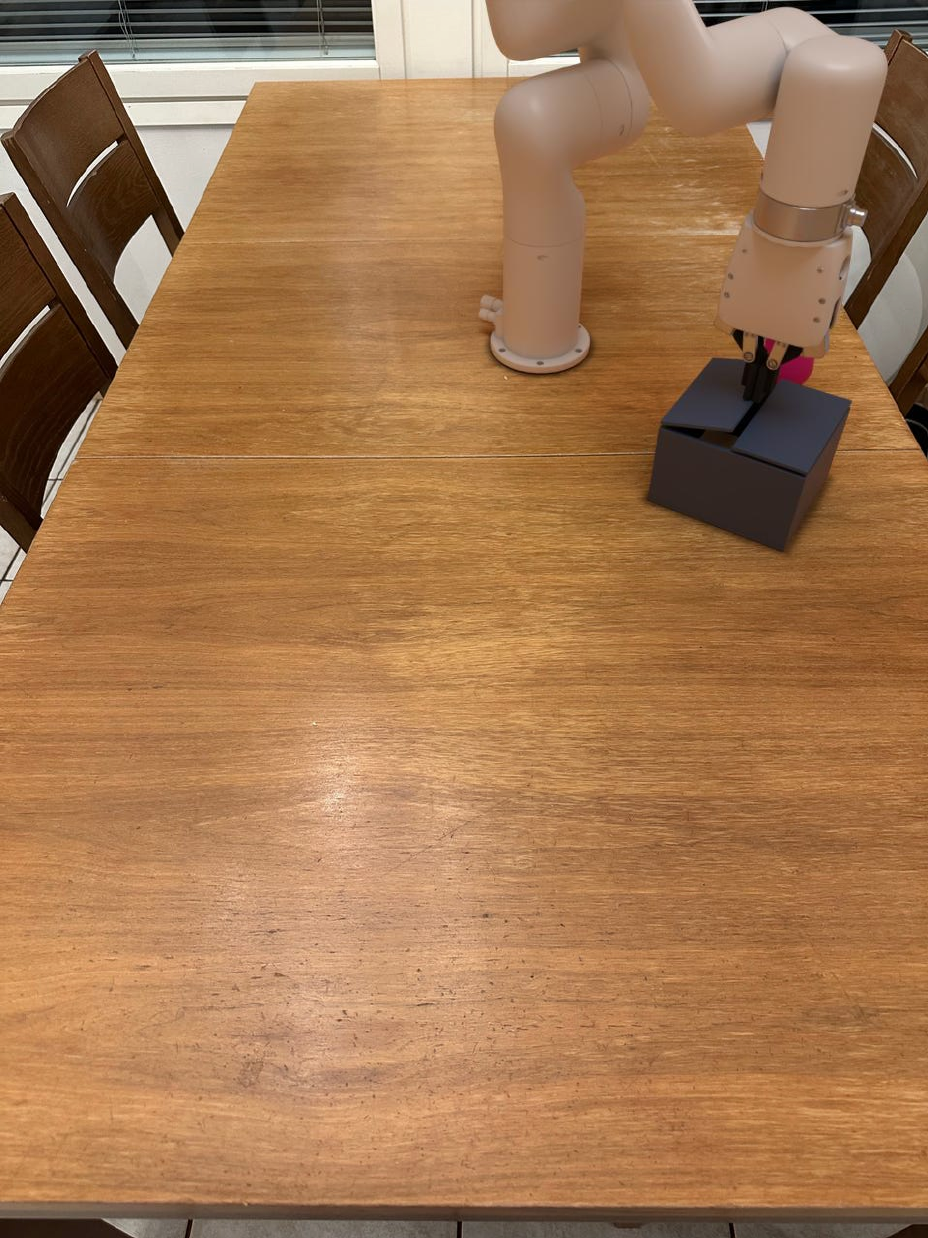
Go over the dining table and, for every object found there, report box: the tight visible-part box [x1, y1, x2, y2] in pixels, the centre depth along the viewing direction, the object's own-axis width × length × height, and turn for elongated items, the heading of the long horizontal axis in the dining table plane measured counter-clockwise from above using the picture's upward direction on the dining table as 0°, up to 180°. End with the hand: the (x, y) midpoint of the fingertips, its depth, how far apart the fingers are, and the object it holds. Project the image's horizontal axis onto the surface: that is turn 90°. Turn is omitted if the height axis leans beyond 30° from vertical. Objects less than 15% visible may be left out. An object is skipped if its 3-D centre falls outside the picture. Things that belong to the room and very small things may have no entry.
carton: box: [647, 379, 853, 552], centre depth 98 cm, size 15×13×10 cm
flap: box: [660, 356, 754, 432], centre depth 95 cm, size 7×13×1 cm, turn 147°
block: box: [699, 430, 744, 454], centre depth 101 cm, size 4×4×4 cm
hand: (756, 393), depth 93 cm, fingers closed
